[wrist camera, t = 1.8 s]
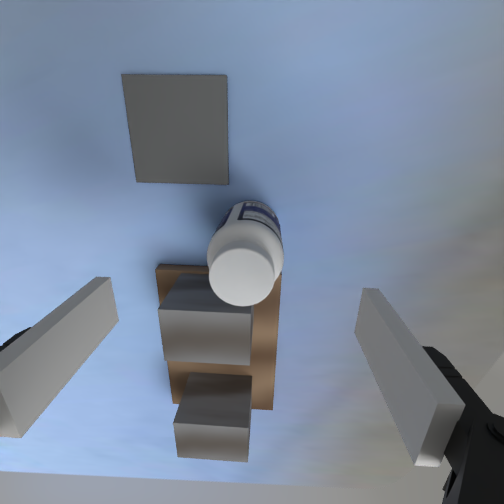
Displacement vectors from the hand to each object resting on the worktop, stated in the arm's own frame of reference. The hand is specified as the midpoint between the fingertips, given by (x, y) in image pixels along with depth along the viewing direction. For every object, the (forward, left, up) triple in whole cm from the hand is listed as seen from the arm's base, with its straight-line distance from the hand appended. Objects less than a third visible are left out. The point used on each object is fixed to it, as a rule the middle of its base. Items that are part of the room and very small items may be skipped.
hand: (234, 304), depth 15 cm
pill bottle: (0, 0, -12) cm, 12 cm away
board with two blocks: (+13, -3, -12) cm, 18 cm away
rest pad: (-8, -6, -12) cm, 16 cm away
